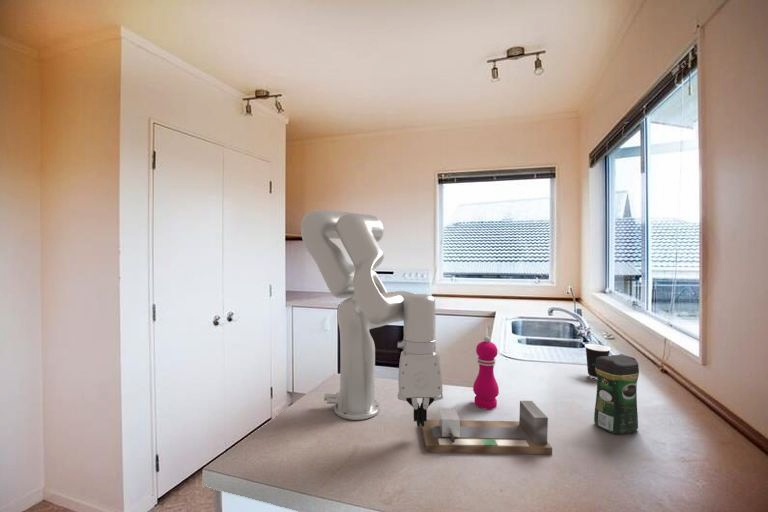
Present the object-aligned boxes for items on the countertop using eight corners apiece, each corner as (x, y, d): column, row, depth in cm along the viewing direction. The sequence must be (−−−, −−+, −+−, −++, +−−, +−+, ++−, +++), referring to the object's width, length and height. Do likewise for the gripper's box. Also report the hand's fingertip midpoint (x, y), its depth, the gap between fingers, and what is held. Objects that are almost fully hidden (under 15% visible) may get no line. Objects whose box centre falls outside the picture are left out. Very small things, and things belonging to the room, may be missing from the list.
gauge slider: (444, 443, 81) (444, 425, 81) (438, 423, 90) (438, 407, 90) (462, 443, 81) (462, 425, 81) (454, 424, 90) (455, 408, 90)
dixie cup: (597, 373, 134) (598, 343, 134) (615, 381, 126) (616, 349, 126) (578, 374, 132) (579, 344, 132) (595, 382, 125) (596, 350, 124)
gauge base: (426, 451, 81) (426, 418, 81) (420, 425, 93) (421, 396, 93) (552, 454, 81) (553, 421, 81) (530, 427, 93) (531, 398, 93)
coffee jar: (614, 417, 99) (617, 349, 98) (643, 432, 91) (646, 358, 91) (587, 422, 96) (589, 352, 95) (614, 437, 88) (617, 362, 88)
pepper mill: (499, 411, 102) (501, 340, 101) (473, 408, 103) (474, 338, 102) (497, 400, 109) (498, 334, 108) (472, 398, 110) (473, 332, 110)
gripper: (388, 351, 82) (388, 431, 83) (454, 350, 82) (454, 431, 82) (388, 343, 90) (388, 417, 90) (448, 342, 90) (449, 416, 90)
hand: (420, 423), depth 86 cm, fingers closed
